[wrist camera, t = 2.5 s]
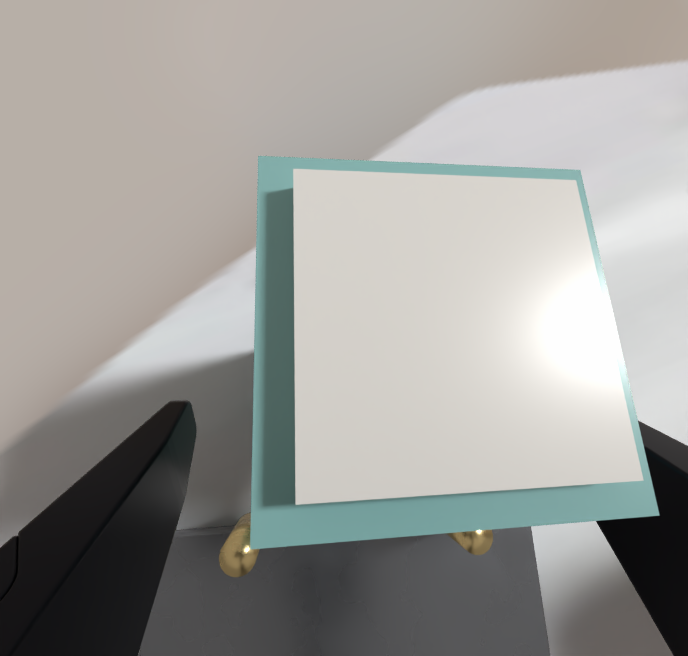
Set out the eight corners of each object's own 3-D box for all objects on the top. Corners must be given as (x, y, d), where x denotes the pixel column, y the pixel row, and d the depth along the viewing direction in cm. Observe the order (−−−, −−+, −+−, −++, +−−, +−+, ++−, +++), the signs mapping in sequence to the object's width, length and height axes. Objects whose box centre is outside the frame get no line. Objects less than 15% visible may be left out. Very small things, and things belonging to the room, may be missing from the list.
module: (396, 443, 17) (694, 525, 4) (290, 448, 16) (243, 564, 3) (389, 340, 18) (600, 152, 5) (289, 342, 18) (254, 134, 5)
